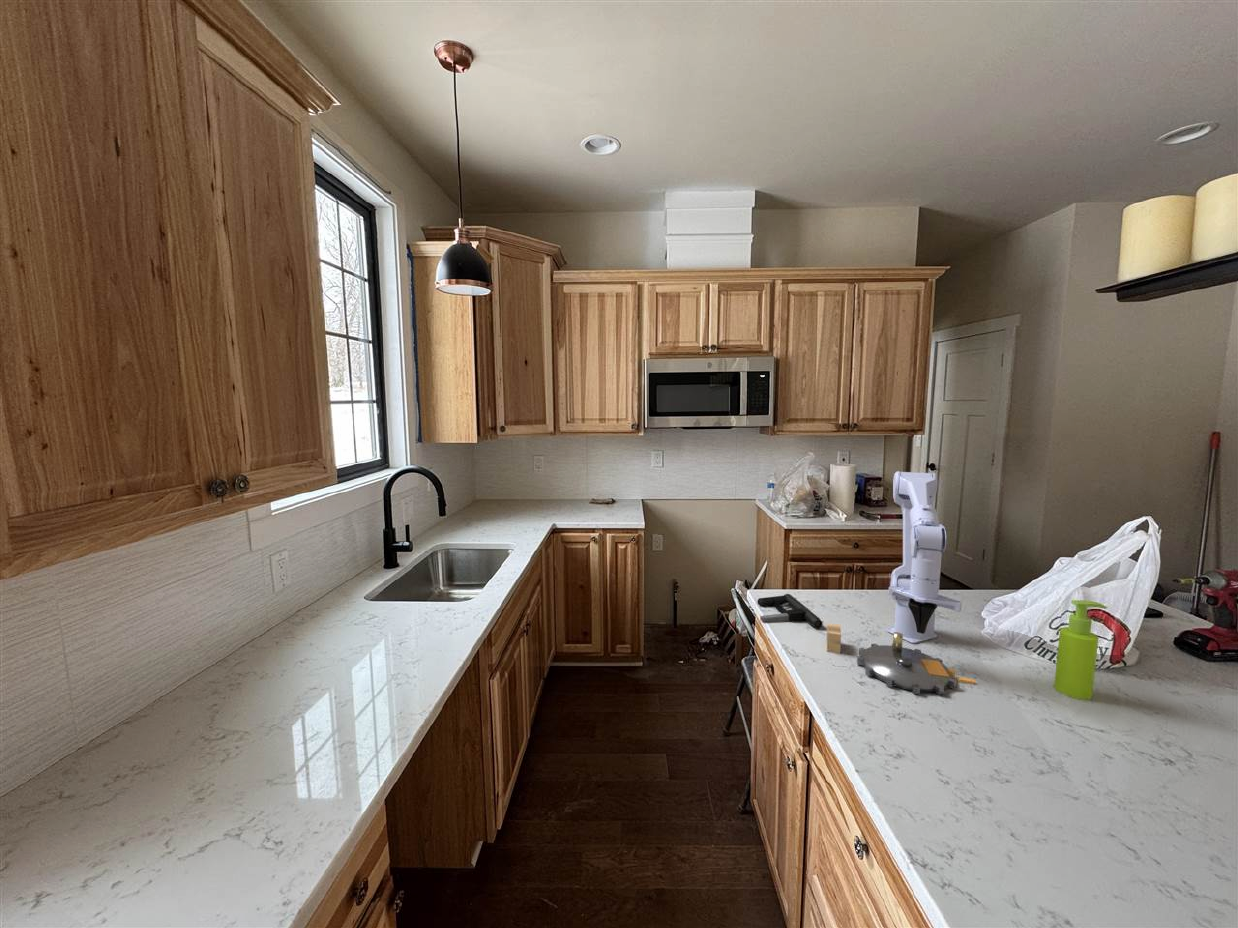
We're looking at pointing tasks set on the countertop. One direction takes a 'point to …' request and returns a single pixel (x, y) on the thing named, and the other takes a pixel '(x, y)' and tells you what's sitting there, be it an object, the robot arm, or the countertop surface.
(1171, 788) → the countertop surface
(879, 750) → the countertop surface
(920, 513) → the robot arm
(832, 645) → the tan wooden block
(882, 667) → the sprocket
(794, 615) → the submachine gun
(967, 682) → the timing pointer
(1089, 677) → the soap dispenser
